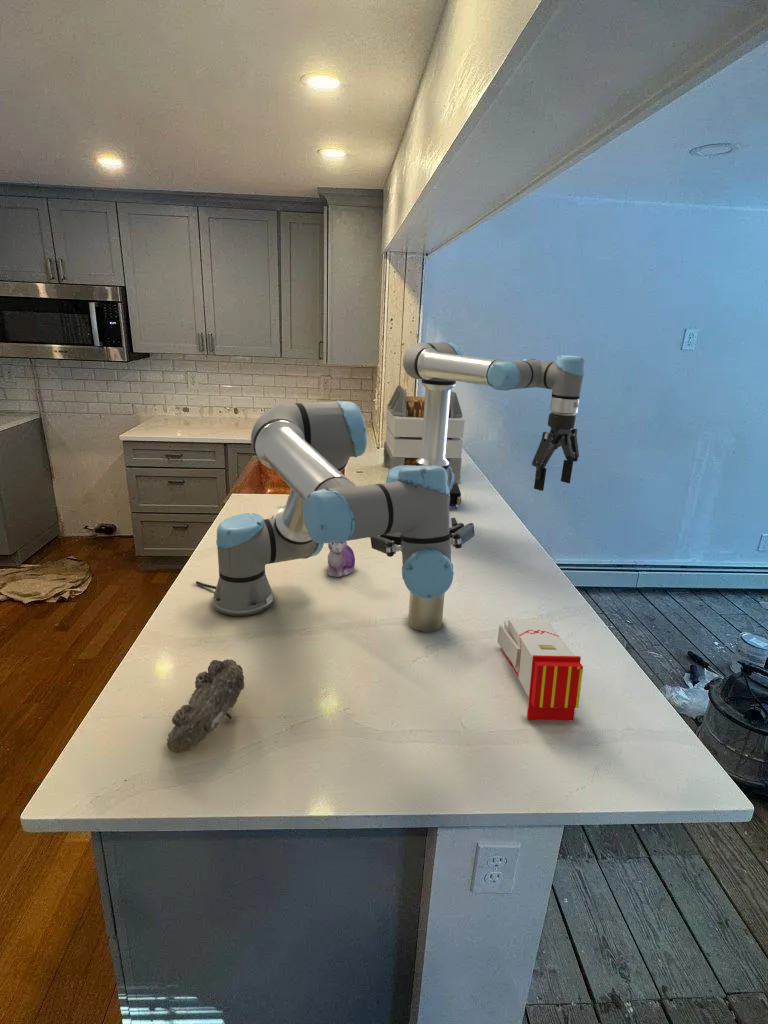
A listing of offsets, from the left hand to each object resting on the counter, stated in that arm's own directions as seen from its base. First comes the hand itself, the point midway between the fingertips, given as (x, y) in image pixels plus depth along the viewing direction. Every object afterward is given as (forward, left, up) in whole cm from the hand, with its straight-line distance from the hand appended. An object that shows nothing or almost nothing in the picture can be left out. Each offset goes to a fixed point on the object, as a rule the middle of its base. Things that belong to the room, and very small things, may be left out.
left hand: (421, 527), depth 118 cm
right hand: (+34, +54, -4) cm, 64 cm away
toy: (+26, -2, -32) cm, 41 cm away
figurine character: (+5, +110, -32) cm, 115 cm away
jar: (+2, +16, -32) cm, 36 cm away
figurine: (-26, +40, -32) cm, 57 cm away
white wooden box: (-12, +155, -32) cm, 159 cm away
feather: (-59, +76, -32) cm, 102 cm away
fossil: (-36, -27, -32) cm, 55 cm away
